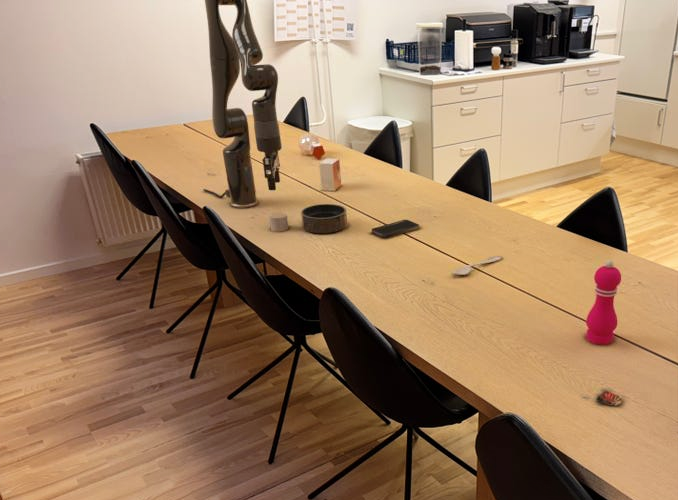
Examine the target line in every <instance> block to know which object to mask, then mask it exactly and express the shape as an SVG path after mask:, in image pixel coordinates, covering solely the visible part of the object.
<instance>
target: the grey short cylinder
mask: <svg viewBox="0 0 678 500" xmlns="http://www.w3.org/2000/svg"><path fill="white" fill-rule="evenodd" d="M268 217H269V224H270V225H269V226H270V230H271V231H272V232H285V231H288V230H289V227H290V225H289V219H288V214H287V213H286V212H282V211H281V212H280V211H279V212H273V213H271V214H269V215H268Z"/></svg>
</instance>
